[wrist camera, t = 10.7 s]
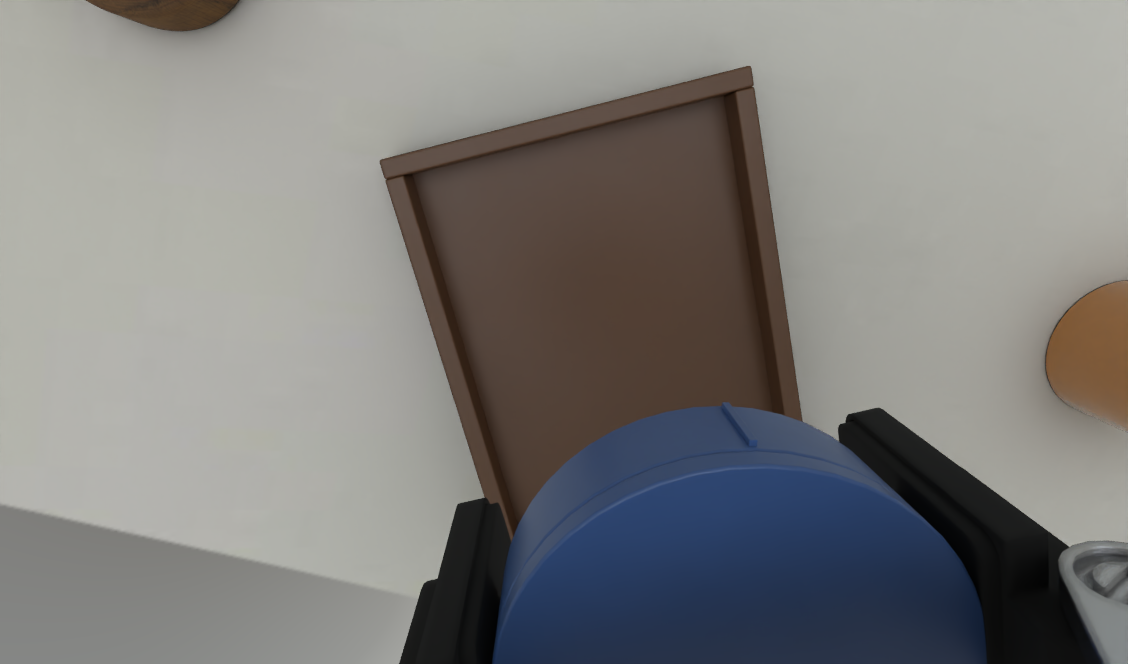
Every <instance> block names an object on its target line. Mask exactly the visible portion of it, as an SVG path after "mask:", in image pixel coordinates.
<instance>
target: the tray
mask: <svg viewBox="0 0 1128 664" xmlns="http://www.w3.org/2000/svg"><path fill="white" fill-rule="evenodd" d="M753 84H754V83H753V76H752V69H751V66H746V67H742V68H738V69H734V70H730V71H726V72H722V73H719V74H715V75H711V76H707V77H703V78H699V79H695V80H691V81H687V82H683V83H679V84H675V85H672V86H668V87H664V88H660V89H656V90H652V91H648V92H644V93H640V94H636V95H632V96H628V97H624V98H621V99H617V100H613V101H609V102H605V103H601V104H597V105H593V106H589V107H585V108H581V109H577V110H574V111H570V112H566V113H562V114H558V115H554V116H550V117H546V118H542V119H538V120H534V121H530V122H527V123H523V124H519V125H515V126H511V127H507V128H503V129H499V130H495V131H491V132H487V133H483V134H480V135H476V136H472V137H468V138H464V139H460V140H456V141H452V142H448V143H444V144H440V145H436V146H432V147H429V148H425V149H421V150H417V151H413V152H409V153H405V154H401V155H397V156H393V157H389V158H385V159H382V160H380V165H381V168H382V171H383V175H384V178H385V179H387V180H386V184H387V188H388V191H389V194H390V197H391V200H392V204H393V207H394V210H395V213H396V216H397V219H398V223H399V226H400V229H401V232H402V235H403V239H404V242H405V245H406V248H407V251H408V254H409V258H410V261H411V264H412V267H413V270H414V274H415V277H416V280H417V283H418V286H419V290H420V293H421V296H422V299H423V302H424V305H425V309H426V312H427V315H428V318H429V321H430V325H431V328H432V331H433V334H434V337H435V341H436V344H437V347H438V350H439V353H440V356H441V360H442V363H443V366H444V369H445V372H446V376H447V379H448V382H449V385H450V388H451V391H452V395H453V398H454V401H455V404H456V407H457V411H458V414H459V417H460V420H461V423H462V427H463V430H464V433H465V436H466V439H467V442H468V446H469V449H470V452H471V455H472V458H473V462H474V465H475V468H476V471H477V474H478V477H479V481H480V484H481V487H482V490H483V493H484V497H485V498H487V499H488V500H489V502H490V504H493V503H497V502H498V503H499V505H500V507H501V510H502V513H503V516H504V519H505V523H506V526H507V529H508V532H509V536H510V539H511V542H512V539H513V537H514V534H515V532H516V529H517V527H518V524H519V522H520V520H521V519H522V517H523V515H524V513H525V512H526V510H527V508H528V506H529V505H530V503H531V501H532V500H533V499H534V497H535V496H536V495H537V493H538V492H539V491H540V490H541V488H542V487H543V486H544V484H545V483H546V482H547V481H548V480H549V479H550V478H551V477H552V476H553V475H554V474H555V473H556V472H557V471H558V470H559V469H560V468H561V467H562V466H563V465H564V464H565V463H566V462H567V461H568V460H570V459H571V458H572V457H574V456H575V455H576V454H577V453H579V452H580V451H581V450H583V449H584V448H585V447H587V446H588V445H590V444H591V443H593V442H595V441H596V440H598V439H600V438H602V437H603V436H605V435H607V434H608V433H610V432H612V431H614V430H616V429H619V428H621V427H623V426H626V425H628V424H630V423H633V422H635V421H637V420H640V419H643V418H647V417H650V416H654V415H657V414H661V413H664V412H668V411H674V410H680V409H686V408H693V407H710V406H722V402H729V403H730V404H731V406H732V407H744V408H754V409H759V410H763V411H768V412H773V413H778V414H781V415H784V416H787V417H790V418H793V419H796V420H798V421H801V422H802V415H801V409H800V402H799V395H798V388H797V381H796V374H795V367H794V360H793V353H792V346H791V339H790V332H789V325H788V319H787V312H786V305H785V298H784V291H783V284H782V277H781V270H780V263H779V256H778V249H777V242H776V235H775V229H774V222H773V215H772V208H771V201H770V194H769V187H768V180H767V173H766V166H765V159H764V152H763V145H762V139H761V132H760V125H759V118H758V111H757V104H756V97H755V90H754V88H753V87H752V86H753Z"/></svg>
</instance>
